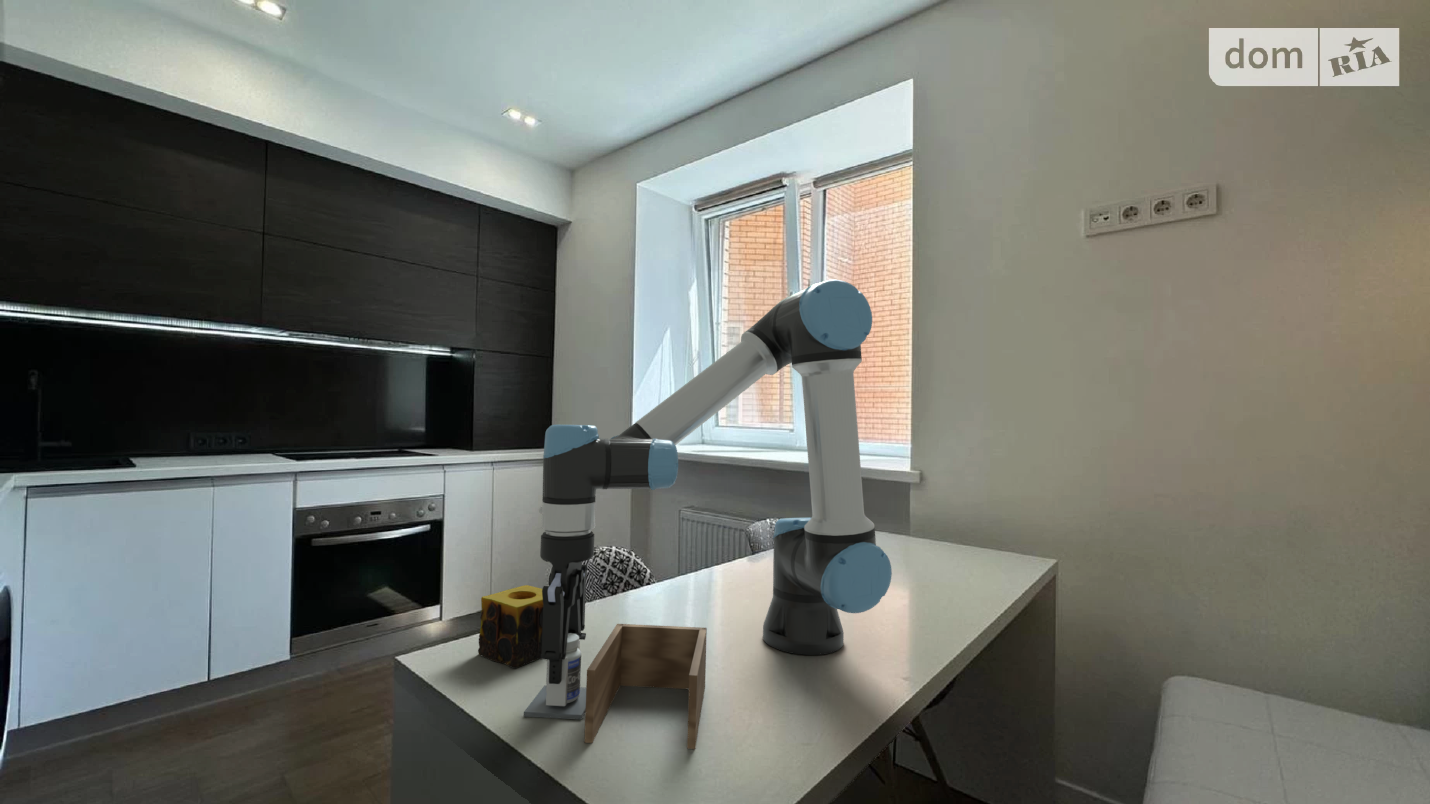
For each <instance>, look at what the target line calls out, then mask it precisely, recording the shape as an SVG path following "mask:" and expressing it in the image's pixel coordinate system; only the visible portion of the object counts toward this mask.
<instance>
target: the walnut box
mask: <svg viewBox="0 0 1430 804" xmlns="http://www.w3.org/2000/svg"><path fill="white" fill-rule="evenodd" d="M707 630H708V628H707V627H702V626H701V627H700V626H699V627H698V626H697V627H696V626H679V625H678V626H676V625H655V624H636V623H635V624H627V623H616V624H615V626H614V628H613V629H612V631H611V633H610V634H609V636H608V637H607V638H606V640H605V642H604V643H603V645H602V646H601V647H600V649H599V651H598V652H597V654H596V655H595V657H594V658H593V660H592V662H590V665H589V666H588V668H587V669H586V685H585V686H586V712H585V714H584V741H583V742H584V744H593V743H594V741H595V738H596V736H597V734H598V733H599V730H600V728H601V726H602V724H603V722H604V720H605V718H606V715H607V714H608V712H609V710H610V709H611V706H612V703H613V702H614V700H615V697H616V695H617V694H618V691H619V689H620V687H621V686H623V687H640V688H641V687H642V688H657V689H659V688H660V689H676V690H677V689H678V690H679V689H682V690H688V701H687V703H688V705H687V706H688V707H687V708H688V709H687V711H688V712H687V714H688V715H687V741H686V742H687V746H686V749H688V750H689V749H690V750H696V745H697V741H698V736H699V735H698V734H699V726H700V720H701V715H702V708H703V703H704V696H705V691H706V690H705V689H706V673H707V672H706V669H707V667H706V666H707V665H706V664H707V634H708V633H707Z"/></svg>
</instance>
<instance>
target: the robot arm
mask: <svg viewBox="0 0 1430 804" xmlns="http://www.w3.org/2000/svg"><path fill="white" fill-rule="evenodd" d="M872 312H873V311H872V308H871V306H870V303H869V300H868V299H867V297H866V296H865V295H864V294H863V293H862V291H860V290H858V288H857V286H855V285H853V284H852V283H849V282H848V281H844V280H841V279H828V280H825V281H821V282H816V283H815V282H814V283H813V284H811V285H809V286H808V287H807V288H804V289H802V290H800V291H798V292H796V293H794V294H792V295H791V294H790V295H789V296H787V297H785V298H784V299H782V300H780V301H779V302H777V304H776V305H774V306H773V307H771V309H770V310H769V311H768V312H767V313H766V314H765V315H764V316H762V317H761V318H760V319H759V320H757V322H755V323H754V324H753V325H752V326H751V327H750V328H748V329H747V330H745V332H743V333H742V334H741V337H740V342H739V343H738V344H736V345H735V346H734V347H732V348H731V349H729V351H728V352H726V353H725V354H723V355H722V356H720V357H719V358H718V359H717V360H716V361H714V362H712V363H711V364H710V365H709V366H708V367H706V368H705V369H704V370H702V371H700V373H698V374H697V375H696V376H694V377H693V378H691V380H689V381H688V382H687V383H685V384H684V385H683V386H681V387H680V388H678V389H677V390H675V392H674V393H672V394H671V395H670V396H669V395H668V397H667V398H665V399H664V400H663V401H662V402H660V403H659V404H658V405H656V406H655V407H654V408H652V409H651V410H650V411H648V412H647V413H646V414H645V415H643V416H642V417H641V418H639V419H638V420H636V421H635V423H634V424H632V425H631V426H629V427H627V428H626V429H624V431H623V432H621V433H619V435H615V436H614V435H613V437H611V438H603V437H599V436H600V435H599V433H598V432H599V431H598V428H597V426H596V425H592V424H552V425H550V426H549V427H548V428H547V429H546V431H545V435H544V446H543V457H542V458H543V459H542V463H543V465H542V504H541V506H540V507H539V509H538V512H539V513H540V514H541V529H542V530H543V531H544V532H543V533H542V534H541V535H540V555H539V556H540V559H541V560H542V561H544V562H547V563H550V564H551V565H552V568H551V573H549V576H548V585H543V586H542V588H541V589H542V597H543V627H542V654H541V658H540V659H541V660H546V680H547V688H546V705H552V706H566V704H567V685H568V656H566V648H567V638H568V633H573V634H576V635H578V636H579V647H578V648H579V649H580V647H581V646H580V640H582V641H583V640H584V641H585V640H586V638H587V633H586V632H584V630H585V628H586V625H585V622H586V621H585V620H586V593H587V592H586V591H587V590H586V589H587V574H588V570H589V569H588V564H583V563H582V562H587V561H589V560H591V559H592V558H593V557H594V555H595V533H594V532H593V531H592V530H594V528H595V527H596V493H597V490H613V489H614V490H645V489H646V490H652V491H654V490H657V489H669V488H672V487H673V486H674V484H676V481H677V479H678V474H679V454H678V449H677V446H676V445H678V444H679V443H681V442H682V441H683V440H684V439H686V438H687V437H688V436H689V435H690V434H692V433H693V432H694V431H695V430H697V429H698V428H700V426H702V425H703V424H704V423H706V422H707V421H708V420H710V419H711V418H712V417H713V416H715V415H716V414H717V413H718V412H720V411H721V410H723V408H725V407H726V406H727V405H728V404H730V403H732V401H734V399H736V398H737V397H739V396H740V395H741V394H742V393H744V392H745V391H746V390H747V389H749V388H750V387H751V386H753V384H755V383H757V382H758V381H759V380H760V379H761V378H763V377H764V376H765V375H768V376H773V375H775V374H777V373H778V372H779V371H780V370H781V369H784V368H785V367H786V366H788V365H790V364H791V367H792V369H793V370H795V372H797V373H798V374H799V375H800V377H801V385H802V397H803V399H802V400H803V411H804V423H805V436H806V448H807V449H806V450H807V461H808V462H807V464H808V473H809V474H808V476H809V487H810V500H811V515H812V516H811V517H786V518H785V517H784V518H780V519H777V521H776V522H775V524H774V531H773V536H772V537H773V538H772V539H773V566H772V567H773V571H772V572H773V573H772V575H773V577H772V598H771V601H770V604H769V606H768V609H767V613H766V616H765V619H764V621H763V625H762V640H763V641H764V642H765V643H766V644H767V645H768V646H770V647H771V648H774V649H776V650H778V651H782V652H784V653H789V654H794V655H795V654H796V655H802V656H803V655H805V656H818V655H819V656H820V655H827V654H828V655H829V654H832V653H835V652H837V651H839V650H840V649H842V648H843V646H844V633H845V632H844V628H843V626H842V625H843V624H842V622H841V618H840V615H839V612H838V610H840V611H842V612H844V613H848V614H861V613H865V612H867V611H870V610H871V609H873V608H874V607H876V606H877V605H878V604H879V603H880V602H881V600H882V599H883V597H885V596H886V594H887V592H888V590H889V588H890V585H891V582H892V576H893V573H892V572H893V570H892V564H891V561H890V558H889V556H888V555H887V553H886V552H884V550H883V549H882V548H881V547H880V546H879V545H877V543H876V542H877V539H876V526H875V523H874V522H873V521H872V520H871V519H869V518H868V517H867V516H866V514H865V507H864V505H865V504H864V494H863V493H864V492H863V481H862V468H861V456H860V455H861V453H860V442H859V440H860V439H859V428H858V415H857V414H858V413H857V403H856V402H857V401H856V393H855V392H856V390H855V389H856V388H855V377H854V376H855V375H854V374H855V373H854V372H855V370H856V369H857V368H858V366H859V365H860V364H861V363H862V361H863V359H862V346H861V345H862V344H863V343H864V342H865V341H866V338H867V337H868V336H869V335H870V333H871V331H872V325H873V313H872Z"/></svg>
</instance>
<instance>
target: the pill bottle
mask: <svg viewBox="0 0 1430 804" xmlns="http://www.w3.org/2000/svg"><path fill="white" fill-rule="evenodd" d="M579 641H580V640H579V636H578V635H576V634H573V633H568V638H567V648H566V656H568V685H567V703H570V702H573V701H574V700H576V699H577V698H578V697H579V695H580V687H581V672H582V671H581V669H582V667H581V666H582V651H581V650H580V649H579V648H578V647H579ZM545 682H546V683H545V685H546V688H547V679H546V681H545Z"/></svg>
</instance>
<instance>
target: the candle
mask: <svg viewBox="0 0 1430 804" xmlns="http://www.w3.org/2000/svg"><path fill="white" fill-rule="evenodd" d="M542 589H543V588H541V587H536V586H533V585H528V584H526V585H520V586H515V587H513V588H509V589H505V590H503V591H499V592H496V593H492V594H487V595H484V596H481V598H480V599H481V603H480V605H481V613H480V629H479V635H478V637H479V638H478V646H479V647H478V649H477V652H478V655H479V656H481V657H482V658H486V659H487V660H491V661H493V662H495V663H498V664H500V663H501V664H505V665H506V666H508V667H510V668H512V669H517V668H520V667H522V666H524V665H528V664H530V663H532V662H534V661H537V660H539V659H542V658H541V654H542V627H543V597H542Z"/></svg>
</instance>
